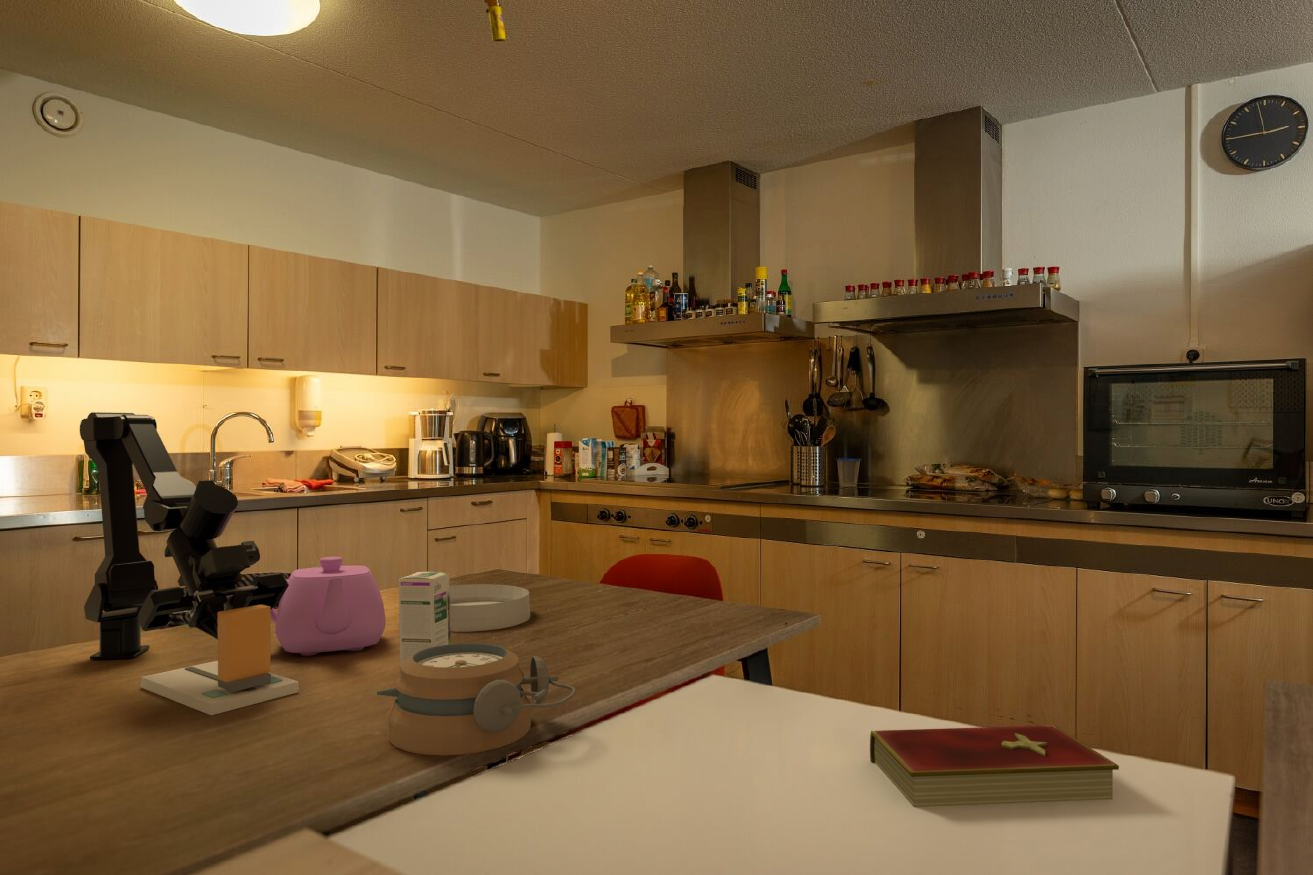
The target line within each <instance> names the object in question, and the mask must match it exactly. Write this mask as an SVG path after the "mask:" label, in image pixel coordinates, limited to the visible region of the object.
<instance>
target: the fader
mask: <svg viewBox="0 0 1313 875" xmlns="http://www.w3.org/2000/svg"><path fill="white" fill-rule="evenodd" d="M217 661H218V687H221V688H224V689H227V690H230V691H232V692H234V691H238V690H242V689H246V688H250V687H254V686H258V685H262V684H267V683H271V674H270V673H272V672H271V671H272V670H271V618H270V606H265V605H256V606H250V607H244V608H238V609H232V610H226V611H220V612H218V640H217ZM268 672H270V673H268Z"/></svg>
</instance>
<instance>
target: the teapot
mask: <svg viewBox="0 0 1313 875" xmlns="http://www.w3.org/2000/svg"><path fill="white" fill-rule="evenodd" d="M343 560H344V558H343V557H341V556H325V557H321V558H320V559H319V563H320V565H321V566H315V567H307V568H306V567H305V568H298V569H295V570H294V571H293V572H291V574H290V576H289V578H286V580H287V582H288V584H289V586H288V588H287V589H286V591H285V593H284V594H283V596H282V598H281V599H280V601H279V602H278V607H277V611H276V609H275V607H274V608H272V609H270V620H272V621H273V623H275V629H274V630H275V635H276V638H277V640H278V642H279V644H280V646H281V647H282V649H283V650H284V652H287V653H291V654H293V653H294V654H295V653H296V654H300V656H314V655H318V654H320V653H325V652H327V653H328V652H336V651H347V652H357V651H362V650H364V648H365V647H366V648H367V647H371V646H374V645H376V644H378V643H379V641H380V639H381V638H382V636H383V634H384V631H385V629H386V626H387V625H386V621H387V620H386V613H385V612H386V611H385V605H384V601H383V598H382V594H381V591H380V589H379V586H378V584H377V581H376V579H375V577H374V574H373V573H372V571H371V570H370V568H369V567H368V566H366V565H342V564H343Z"/></svg>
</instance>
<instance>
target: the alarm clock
mask: <svg viewBox="0 0 1313 875" xmlns="http://www.w3.org/2000/svg"><path fill="white" fill-rule="evenodd" d="M529 666H530V667H529V668H530V670H529V677H525V674H524V672H523V671H522V669H521V667H520V657H518V656H517V654H515V653H514V652H511V651H510V650H508V649H507V648H504V647H502V646H500V645H497V644H496V645H495V644H489V643H479V642H467V643H466V642H462V643H461V642H460V643H450V644H448V645H441V646H436V647H431V648H427V649H424V650H422V651H419V652H417V653H416V654H414V655H413V656H411V657H409V658H408V659H406V660H405V661H403V662H402V664H401V665H400V664H399V675H398V677H397V678H396V680H395V683H394V687H392V688H386V689H382V690H378V691H376V695H377V696H384V697H395V699H394V702H393V705H392V706H391V708H390V709H389V710H388V713H387V738H388V742H389V743H390V744H392V745H393V747H395V748H397V749H399V750H403V751H406V752H409V753H413V754H420V755H424V756H425V755H427V756H441V757H442V756H461V755H462V756H463V755H468V754H476V753H477V754H478V753H483V752H487V751H492V750H495V749H500V748H502V747H505V746H508V745H510V744H513V743H515V742H517V741H519V740H520V739H522V738H523V737H525V736H526V735H527V734H528V732H529V731H530V730H531V723H532V708H534V709H535V708H537V709H539V708H542V709H544V708H553V707H558V706H561V705H562V704H565V703H567V702H569V701H570V700H571V699H573V697H574V696H575V694H576V693H577V690H576V688H575V687H574V686H572V685H570V684H563V683H559V682H558V681H559V680H560V677H559V675H549V674H550V673H549V671H548V667H547V664H546V662H545V661H544V659H543V658H542V657H540V656H537V655H535V656H533V655H532V657H531V658H530V665H529ZM550 684H551V685H552V686H554V687H558V688H562V689H567V690H569V691H571V693H570V694H568V695H567V696H566V697H565V698H563V699H560V700H557V701H555V702H551V703H549V702H548V703H544V701H545V700H546V699H547V696H548V693H549V687H550ZM522 685H530V691H527V690H524V688H523V687H522ZM527 696H528V697H529V696H531V698H532V702H533V703H531V701H530V699H529V698H528V697H527Z"/></svg>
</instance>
